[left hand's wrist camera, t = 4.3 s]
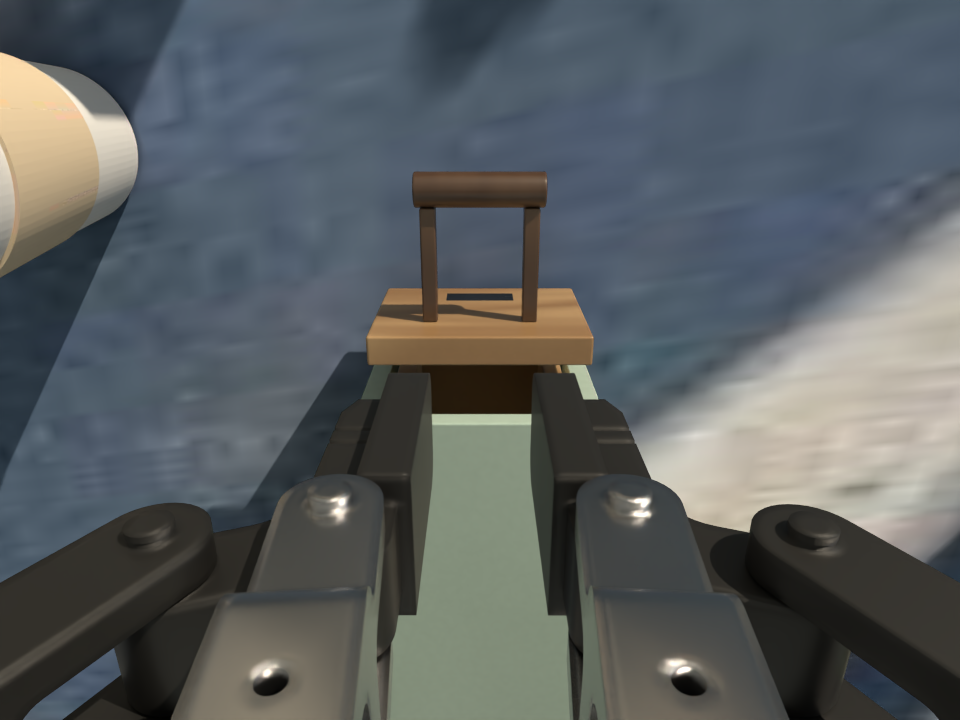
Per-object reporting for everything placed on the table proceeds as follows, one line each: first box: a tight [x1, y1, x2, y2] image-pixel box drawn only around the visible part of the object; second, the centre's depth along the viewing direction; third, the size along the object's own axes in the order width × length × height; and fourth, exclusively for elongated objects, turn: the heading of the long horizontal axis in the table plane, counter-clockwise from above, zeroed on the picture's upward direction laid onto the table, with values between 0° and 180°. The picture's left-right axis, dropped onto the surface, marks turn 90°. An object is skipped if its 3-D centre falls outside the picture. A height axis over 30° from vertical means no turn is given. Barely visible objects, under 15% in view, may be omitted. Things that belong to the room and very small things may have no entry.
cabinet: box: [361, 365, 598, 720], centre depth 34 cm, size 21×10×9 cm, turn 0°
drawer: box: [366, 172, 594, 414], centre depth 32 cm, size 26×9×7 cm, turn 0°
